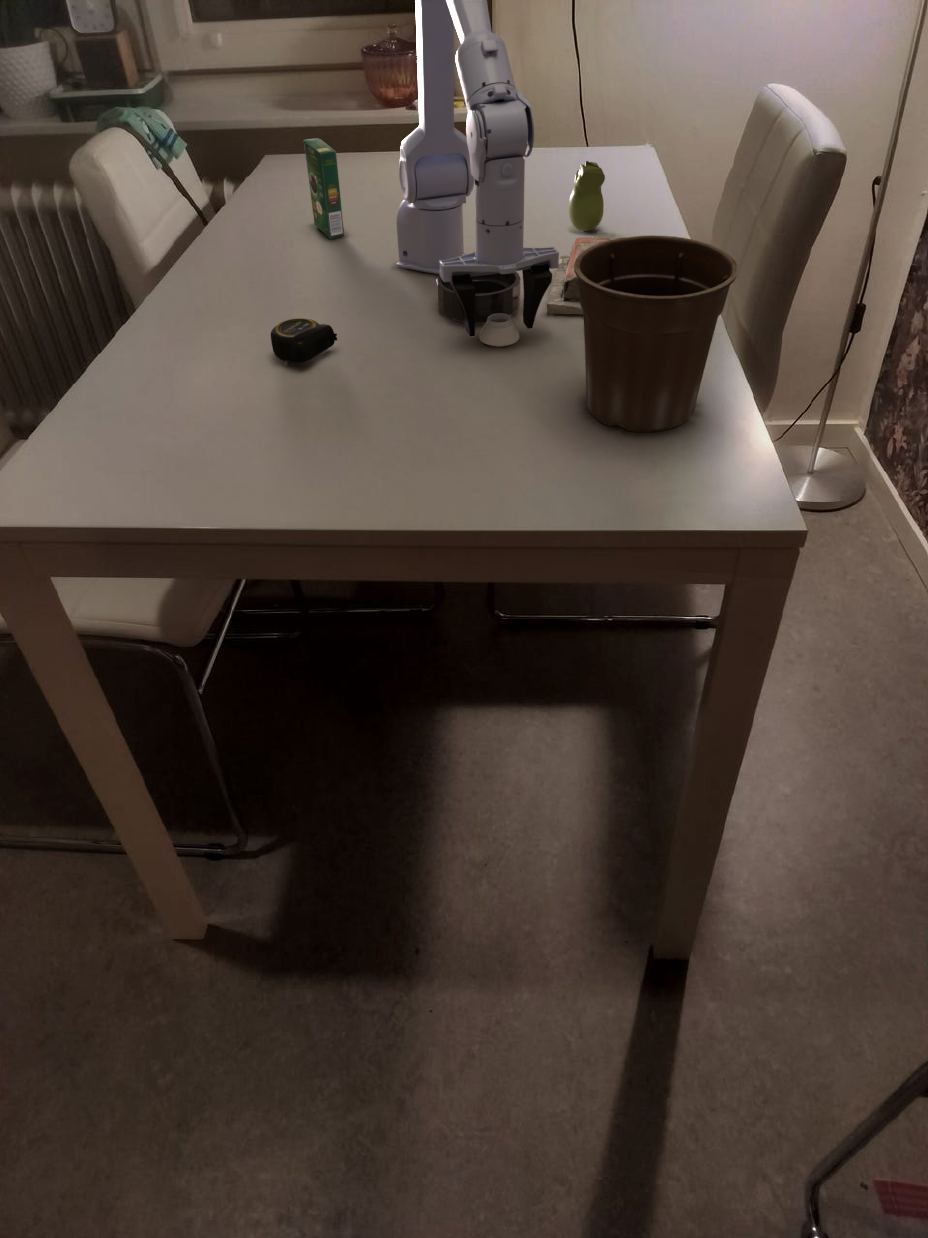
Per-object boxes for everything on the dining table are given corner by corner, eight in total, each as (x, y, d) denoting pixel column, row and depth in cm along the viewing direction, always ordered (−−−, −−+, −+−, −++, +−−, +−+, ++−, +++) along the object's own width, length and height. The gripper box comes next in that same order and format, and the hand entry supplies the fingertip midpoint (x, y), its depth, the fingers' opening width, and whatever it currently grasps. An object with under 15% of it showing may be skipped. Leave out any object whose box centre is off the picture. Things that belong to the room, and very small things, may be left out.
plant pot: (612, 458, 91) (628, 307, 80) (541, 391, 102) (546, 250, 91) (741, 423, 96) (772, 276, 85) (659, 362, 107) (678, 225, 96)
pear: (594, 221, 144) (598, 155, 138) (607, 232, 141) (613, 164, 134) (562, 226, 143) (566, 159, 136) (576, 237, 139) (579, 169, 133)
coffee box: (346, 237, 142) (336, 148, 133) (330, 240, 141) (318, 151, 133) (330, 222, 148) (319, 136, 139) (313, 225, 147) (302, 139, 138)
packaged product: (561, 232, 128) (630, 235, 126) (559, 265, 131) (627, 268, 129) (546, 279, 115) (623, 283, 113) (545, 315, 118) (619, 319, 116)
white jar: (472, 341, 113) (501, 352, 110) (471, 319, 111) (501, 330, 108) (497, 328, 115) (526, 339, 113) (497, 306, 113) (527, 316, 111)
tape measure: (304, 373, 107) (299, 344, 105) (262, 360, 110) (257, 331, 108) (339, 351, 112) (335, 323, 109) (298, 339, 114) (294, 311, 112)
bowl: (423, 317, 118) (421, 286, 116) (462, 287, 126) (461, 257, 123) (496, 332, 114) (496, 301, 112) (533, 301, 122) (534, 270, 119)
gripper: (447, 236, 98) (451, 350, 108) (569, 222, 101) (563, 334, 110) (433, 216, 103) (438, 326, 113) (550, 203, 106) (545, 312, 115)
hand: (499, 329), depth 112 cm, fingers open, 7 cm apart
